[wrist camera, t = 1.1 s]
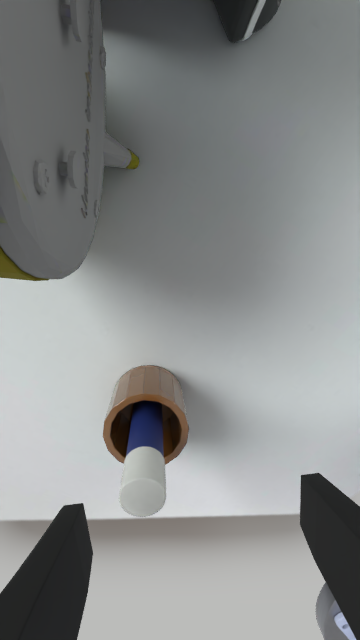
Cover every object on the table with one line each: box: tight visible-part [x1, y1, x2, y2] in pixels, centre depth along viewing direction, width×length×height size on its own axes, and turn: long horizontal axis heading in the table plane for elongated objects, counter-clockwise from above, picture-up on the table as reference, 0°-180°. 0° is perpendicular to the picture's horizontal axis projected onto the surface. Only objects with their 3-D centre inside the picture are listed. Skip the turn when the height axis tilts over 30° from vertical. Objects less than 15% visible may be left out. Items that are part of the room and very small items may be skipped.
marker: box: [119, 400, 166, 517], centre depth 16 cm, size 2×2×8 cm
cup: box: [103, 365, 189, 464], centre depth 19 cm, size 5×5×4 cm
